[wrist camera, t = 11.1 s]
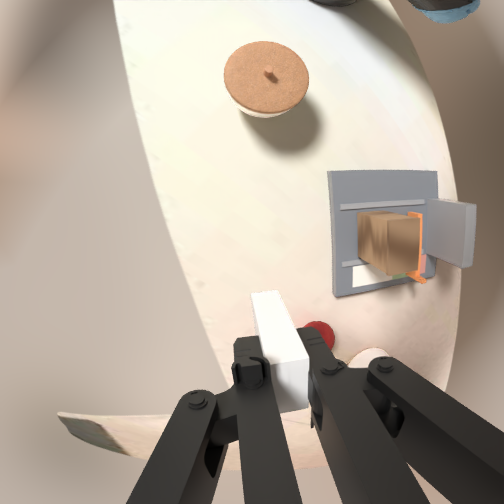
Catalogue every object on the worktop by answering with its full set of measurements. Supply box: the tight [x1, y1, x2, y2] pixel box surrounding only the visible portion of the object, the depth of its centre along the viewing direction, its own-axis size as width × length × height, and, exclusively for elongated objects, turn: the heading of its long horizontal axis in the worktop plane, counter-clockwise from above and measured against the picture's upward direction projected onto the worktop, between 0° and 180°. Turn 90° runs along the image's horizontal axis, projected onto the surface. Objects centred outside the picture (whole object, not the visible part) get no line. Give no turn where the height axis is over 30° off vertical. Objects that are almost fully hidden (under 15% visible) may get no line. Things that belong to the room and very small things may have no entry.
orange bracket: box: [406, 212, 426, 284], centre depth 39 cm, size 11×1×5 cm, turn 6°
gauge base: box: [327, 170, 476, 297], centre depth 37 cm, size 20×22×12 cm
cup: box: [348, 348, 390, 368], centre depth 45 cm, size 10×10×10 cm
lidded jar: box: [224, 41, 309, 118], centre depth 32 cm, size 11×11×9 cm
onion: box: [304, 321, 335, 350], centre depth 42 cm, size 6×6×8 cm
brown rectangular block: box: [357, 210, 420, 276], centre depth 36 cm, size 7×5×10 cm
